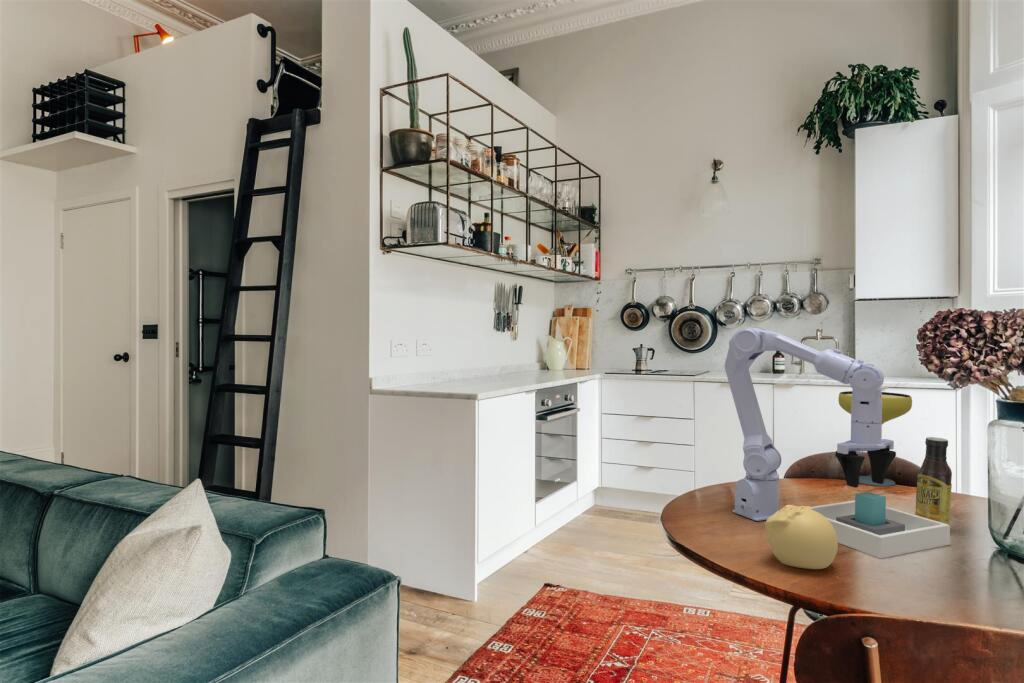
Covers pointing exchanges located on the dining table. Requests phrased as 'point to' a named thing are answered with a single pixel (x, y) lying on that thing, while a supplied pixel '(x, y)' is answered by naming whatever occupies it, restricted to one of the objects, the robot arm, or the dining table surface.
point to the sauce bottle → (934, 483)
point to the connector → (870, 508)
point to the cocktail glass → (891, 409)
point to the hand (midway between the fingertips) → (865, 484)
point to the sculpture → (801, 537)
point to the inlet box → (885, 531)
